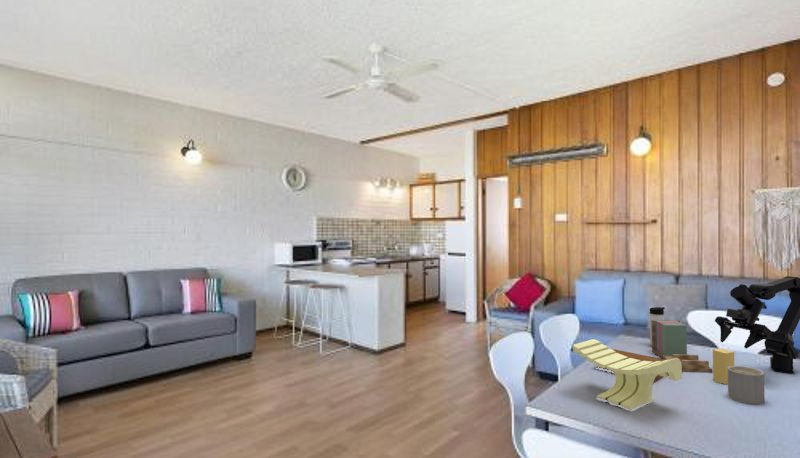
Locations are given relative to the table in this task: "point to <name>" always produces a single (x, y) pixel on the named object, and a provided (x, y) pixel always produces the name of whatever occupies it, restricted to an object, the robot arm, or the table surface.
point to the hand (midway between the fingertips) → (733, 344)
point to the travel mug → (655, 317)
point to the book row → (671, 337)
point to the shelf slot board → (681, 355)
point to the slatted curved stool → (628, 373)
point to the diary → (640, 357)
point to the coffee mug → (746, 384)
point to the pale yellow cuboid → (722, 364)
